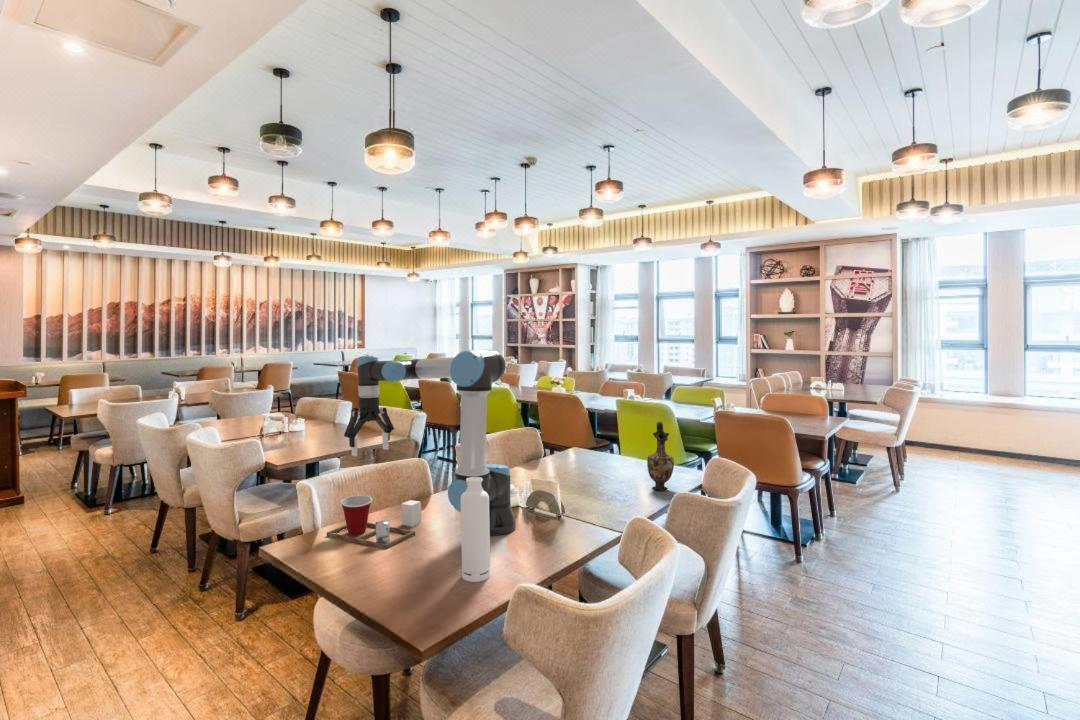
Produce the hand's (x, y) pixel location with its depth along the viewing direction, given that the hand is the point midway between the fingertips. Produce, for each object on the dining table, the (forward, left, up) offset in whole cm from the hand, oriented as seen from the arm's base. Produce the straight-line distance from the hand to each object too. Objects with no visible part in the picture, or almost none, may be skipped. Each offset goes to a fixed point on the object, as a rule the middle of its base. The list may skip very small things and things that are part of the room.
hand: (370, 452), depth 200 cm
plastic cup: (-4, +12, -27) cm, 29 cm away
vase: (-88, -88, -27) cm, 127 cm away
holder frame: (-11, +12, -26) cm, 31 cm away
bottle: (-63, +23, -27) cm, 72 cm away
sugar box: (-16, -4, -26) cm, 31 cm away
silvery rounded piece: (-20, +15, -26) cm, 36 cm away
